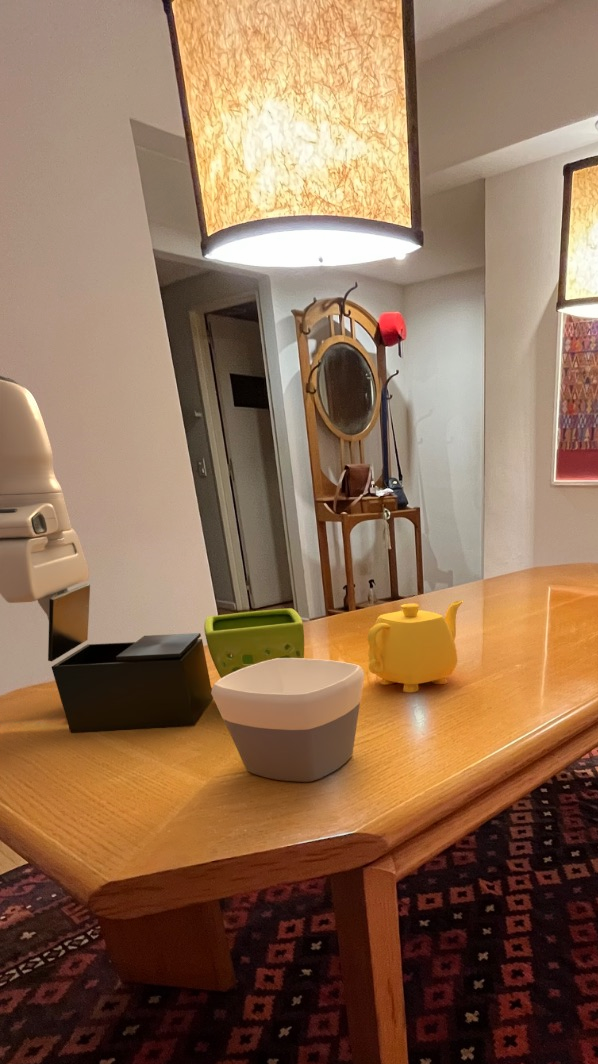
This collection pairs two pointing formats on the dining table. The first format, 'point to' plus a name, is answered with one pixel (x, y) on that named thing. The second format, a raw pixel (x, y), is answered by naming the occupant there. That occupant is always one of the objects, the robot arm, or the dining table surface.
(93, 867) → the dining table surface
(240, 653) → the flower pot
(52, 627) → the flap
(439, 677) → the teapot
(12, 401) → the robot arm
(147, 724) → the black lidded box
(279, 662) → the bowl
